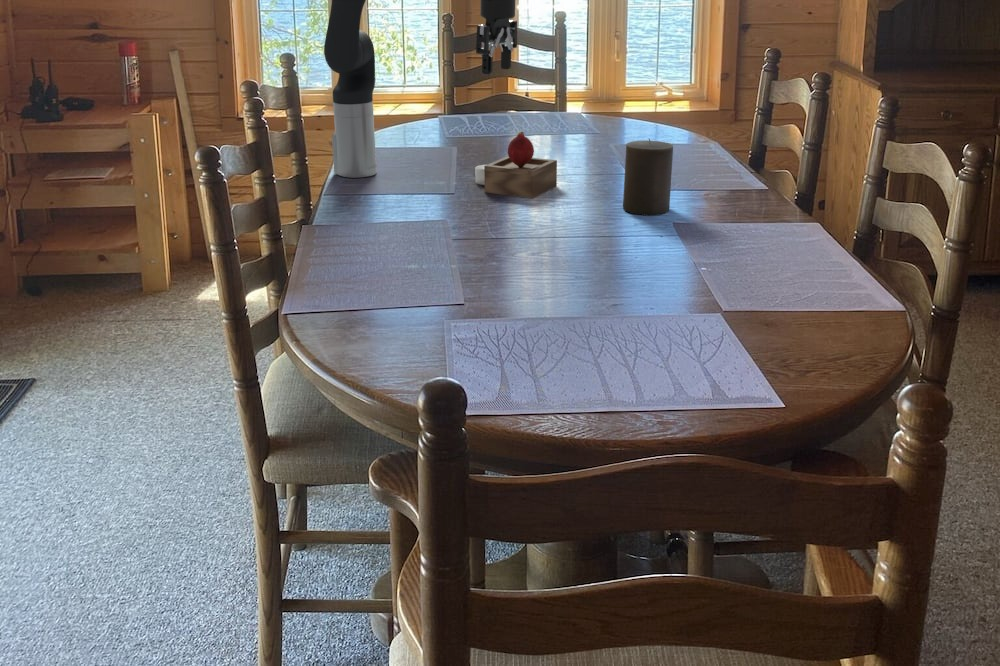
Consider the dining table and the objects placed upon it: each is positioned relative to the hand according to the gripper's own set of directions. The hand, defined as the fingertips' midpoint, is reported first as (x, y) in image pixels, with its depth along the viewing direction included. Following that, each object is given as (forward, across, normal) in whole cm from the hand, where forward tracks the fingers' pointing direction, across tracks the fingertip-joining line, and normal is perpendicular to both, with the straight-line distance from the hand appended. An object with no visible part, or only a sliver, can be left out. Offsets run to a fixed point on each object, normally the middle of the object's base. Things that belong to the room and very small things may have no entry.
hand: (496, 71), depth 235 cm
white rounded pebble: (+26, 0, -2) cm, 26 cm away
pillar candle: (+24, +6, +40) cm, 47 cm away
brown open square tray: (+25, +3, +8) cm, 26 cm away
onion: (+20, +3, +8) cm, 22 cm away
